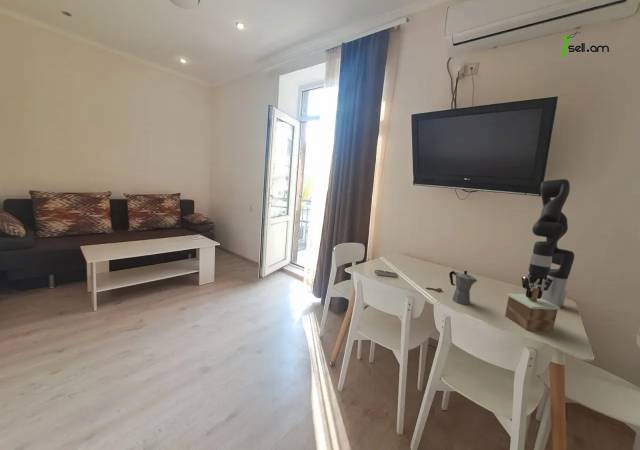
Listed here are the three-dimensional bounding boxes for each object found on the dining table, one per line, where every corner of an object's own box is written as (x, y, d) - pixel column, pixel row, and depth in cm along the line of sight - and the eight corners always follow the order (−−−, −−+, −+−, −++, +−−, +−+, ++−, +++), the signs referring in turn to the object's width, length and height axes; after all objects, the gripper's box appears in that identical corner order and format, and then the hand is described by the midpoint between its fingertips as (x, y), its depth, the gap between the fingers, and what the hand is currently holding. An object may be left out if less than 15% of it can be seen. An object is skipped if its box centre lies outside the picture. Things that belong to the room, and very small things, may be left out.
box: (528, 316, 132) (533, 296, 130) (552, 331, 119) (557, 309, 117) (504, 315, 131) (508, 295, 129) (526, 330, 118) (531, 308, 117)
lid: (533, 296, 131) (535, 283, 130) (559, 309, 117) (563, 295, 116) (507, 295, 130) (509, 282, 129) (531, 308, 116) (534, 294, 115)
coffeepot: (477, 304, 143) (482, 273, 140) (468, 307, 138) (473, 276, 135) (450, 293, 155) (454, 265, 153) (441, 296, 150) (446, 267, 147)
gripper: (547, 262, 125) (539, 295, 127) (519, 260, 124) (512, 294, 126) (562, 267, 117) (554, 302, 120) (533, 265, 116) (525, 300, 119)
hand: (533, 297), depth 123 cm, fingers open, 4 cm apart
